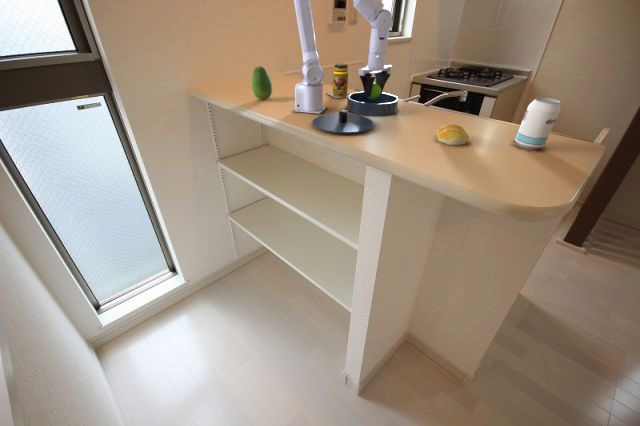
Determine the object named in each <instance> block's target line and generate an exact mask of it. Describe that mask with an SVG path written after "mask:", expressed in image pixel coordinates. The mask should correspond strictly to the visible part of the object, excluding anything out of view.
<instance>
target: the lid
mask: <svg viewBox="0 0 640 426" xmlns="http://www.w3.org/2000/svg"><path fill="white" fill-rule="evenodd" d="M348 111H349V110H348V109H339V110H338V112H335V113H326V114H322V115H318V116H316V117H315V118H314V119H312V126H313V127H314V128H316V129H318V130H319V131H322V132H326V133H329V134H330V133H331V134H338V135H352V134H353V135H354V134H360V133H364V132H367V131H370V130H371V129H372V128H373V126H374V122H373V120H371V119H370V118H368V117H367V116H364V115H360V114H356V113H349V112H348Z"/></svg>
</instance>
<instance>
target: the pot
mask: <svg viewBox="0 0 640 426" xmlns="http://www.w3.org/2000/svg"><path fill="white" fill-rule="evenodd" d="M347 95H348V97H347V101H346V110H347V111H349V112H350V113H352V114H355V115H360V116H366V117H367V116H368V117H369V116H370V117H383V116H385V117H386V116H390V115H393V114H395V113H397V110H398V105H399V104H398V103H399V98H398V96H396V95H393V94H390V93H386V92H382V94H381V95H380V96H379V97H378V98H377V99H374V100H371V99H369V98H368V97H366V96H365V94H364V91H358V92H352V93H350V94H347Z"/></svg>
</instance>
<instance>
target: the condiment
mask: <svg viewBox="0 0 640 426" xmlns="http://www.w3.org/2000/svg"><path fill="white" fill-rule="evenodd" d="M348 67H349V66H348V64H347V63H335V64H334V68H333V69H334V71H333V73H332V74H333V75H332V92H331V93H329V92H328V93H327V94H328V95H329V96H331V97H333V98H334V99H343V98H348V95H349V94H348V84H349V72H348V70H349V69H348Z"/></svg>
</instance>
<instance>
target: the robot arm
mask: <svg viewBox="0 0 640 426" xmlns="http://www.w3.org/2000/svg"><path fill="white" fill-rule="evenodd" d="M293 3H294V9H295V15H296V21H297V22H296V23H297V27H298V35H299V40H300V47H301V52H302V67H301V73H302V76H303V77H304V78H303V80H302V81H301V82H297V83H296V84H295V86H294V87H295V88H294V112H297V113H306V114H307V113H308V114H318V115H320V114H322V113H323V112H324V111H325V110H326V108H327V107H326V106H323V105H324V104H323V103H324V102H323V101H324V99H323V97H324V82H323V79H324V74H325V73H324V70H323V68H322V67H321V66H322V65H320V60H319V55H318V51H317V43H316V36H315V29H314V24H313V23H314V21H313V14H312V7H311V1H310V0H293ZM352 3H353V5H352V6H353V8H354V9H355V10H356V11H357V12H358V13H359V14H360V15H361V16H362V17H363V18H364V19H365V20H366V21H367V22H368V23H369V27H370V28H371V29H370V36H369V37H370V38H369V49H368V59H367V65H366V66H365V67H361V68H358V76H359V78H360V81H361V84H362V88H363V92H364V94H365V96H366V97H370V95H371V90H372V85H373V83H377V84H378V85H379V86H380V87H381V94H382V93H383V91H384V88H385V85H386V83H387V81H388V80H389V79H390V77H391V73H392V70H393V65H391V64H386V59H387V52H388V50H387V49H388V43H389V34H390V33H389V32H390V29H391V27H392V26H393V24H394V19H393V17H392V13H391V11H390V10H388V9H385V8H384V7H385V4H384V3H383V2H381V3H380V2H379V0H352ZM390 72H391V73H390ZM373 75H374V76H373ZM374 81H375V82H374ZM381 94H380V95H381Z"/></svg>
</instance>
